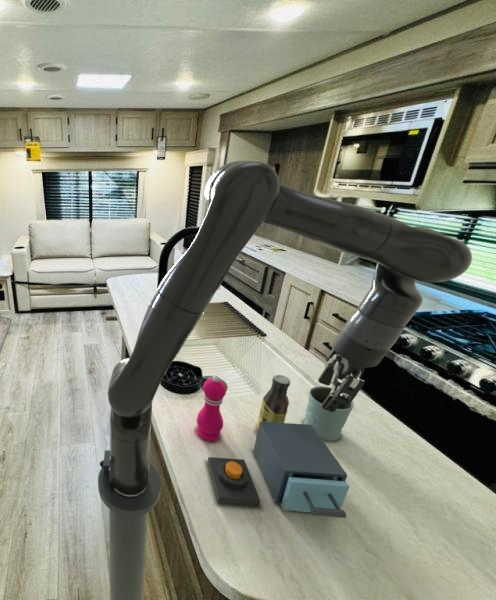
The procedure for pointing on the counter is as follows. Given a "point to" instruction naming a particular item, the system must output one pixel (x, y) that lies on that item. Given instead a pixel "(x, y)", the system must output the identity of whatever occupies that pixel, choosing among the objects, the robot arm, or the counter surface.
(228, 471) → the button
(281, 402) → the sauce bottle
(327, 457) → the grey drawer cabinet
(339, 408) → the embossed plant pot
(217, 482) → the block
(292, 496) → the light blue drawer
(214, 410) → the pepper mill
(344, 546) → the counter surface
